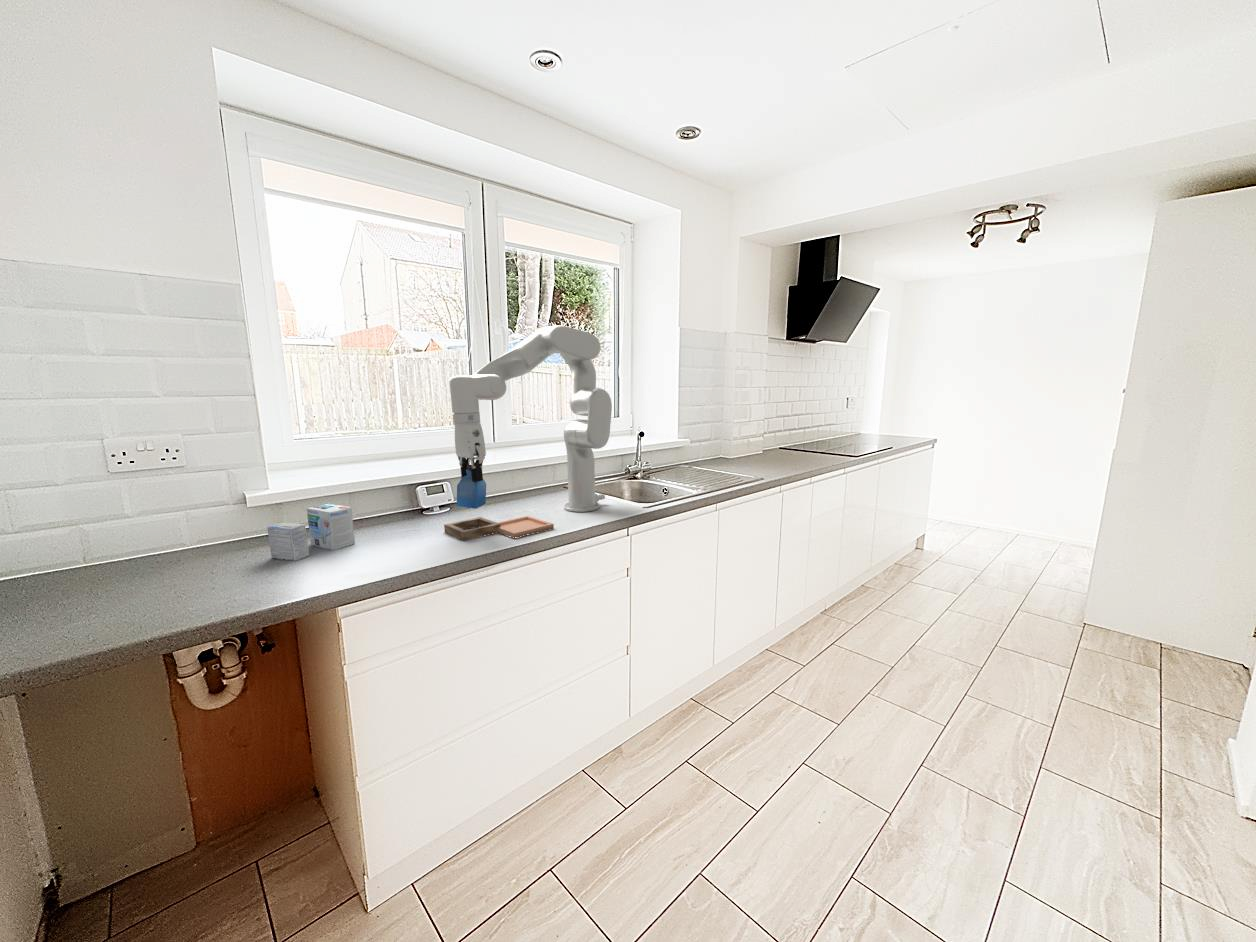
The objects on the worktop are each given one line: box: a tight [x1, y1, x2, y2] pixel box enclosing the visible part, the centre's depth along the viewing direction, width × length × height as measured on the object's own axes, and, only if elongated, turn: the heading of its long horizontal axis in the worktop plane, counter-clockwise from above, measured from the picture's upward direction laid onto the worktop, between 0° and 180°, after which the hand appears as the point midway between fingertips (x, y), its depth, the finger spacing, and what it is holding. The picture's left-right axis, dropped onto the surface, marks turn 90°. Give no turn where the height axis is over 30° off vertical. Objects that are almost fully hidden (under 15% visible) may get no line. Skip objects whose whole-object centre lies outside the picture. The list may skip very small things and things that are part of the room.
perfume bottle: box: [456, 464, 487, 510], centre depth 149 cm, size 6×6×12 cm
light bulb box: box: [306, 503, 356, 551], centre depth 140 cm, size 11×7×11 cm, turn 62°
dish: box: [497, 515, 555, 538], centre depth 154 cm, size 14×14×2 cm
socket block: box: [443, 516, 501, 542], centre depth 151 cm, size 12×12×2 cm
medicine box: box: [267, 522, 310, 562], centre depth 130 cm, size 8×4×9 cm, turn 74°
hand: (472, 479), depth 149 cm, fingers closed on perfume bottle, 5 cm apart
